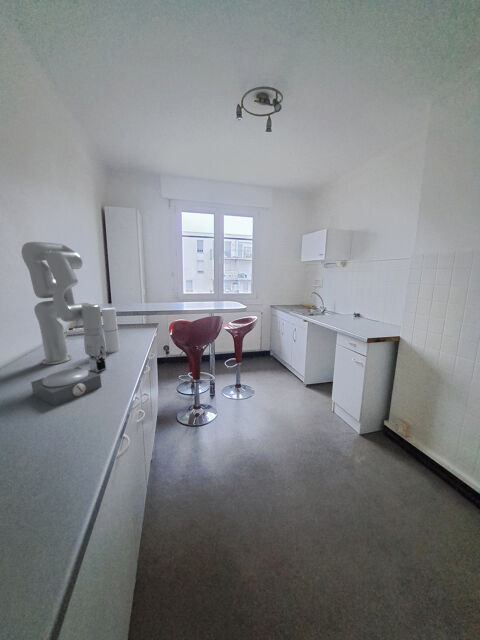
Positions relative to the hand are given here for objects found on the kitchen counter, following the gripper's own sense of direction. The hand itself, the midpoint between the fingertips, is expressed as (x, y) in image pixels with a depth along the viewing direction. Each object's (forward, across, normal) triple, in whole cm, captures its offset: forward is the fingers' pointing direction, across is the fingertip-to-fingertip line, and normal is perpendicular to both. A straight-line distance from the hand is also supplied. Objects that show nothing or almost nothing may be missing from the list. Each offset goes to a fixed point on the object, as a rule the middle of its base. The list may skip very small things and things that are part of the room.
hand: (98, 367), depth 120 cm
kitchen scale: (+1, +10, -18) cm, 21 cm away
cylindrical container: (+1, -21, +21) cm, 30 cm away
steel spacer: (+1, 0, 0) cm, 1 cm away
